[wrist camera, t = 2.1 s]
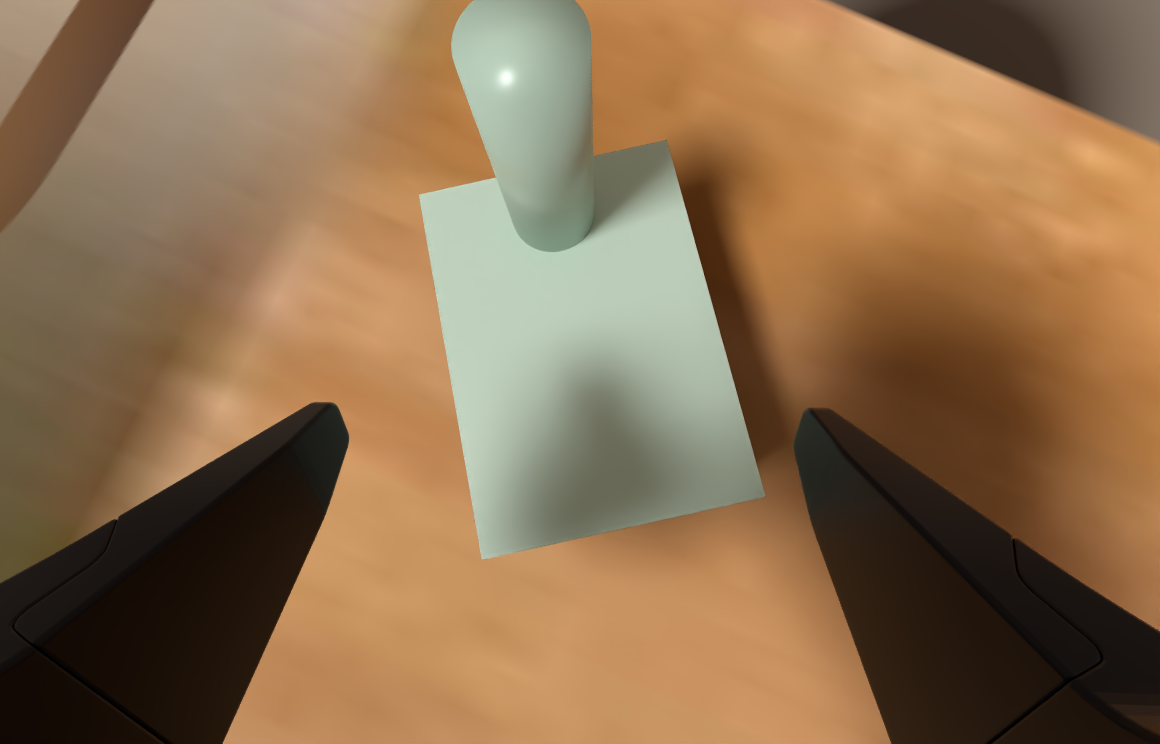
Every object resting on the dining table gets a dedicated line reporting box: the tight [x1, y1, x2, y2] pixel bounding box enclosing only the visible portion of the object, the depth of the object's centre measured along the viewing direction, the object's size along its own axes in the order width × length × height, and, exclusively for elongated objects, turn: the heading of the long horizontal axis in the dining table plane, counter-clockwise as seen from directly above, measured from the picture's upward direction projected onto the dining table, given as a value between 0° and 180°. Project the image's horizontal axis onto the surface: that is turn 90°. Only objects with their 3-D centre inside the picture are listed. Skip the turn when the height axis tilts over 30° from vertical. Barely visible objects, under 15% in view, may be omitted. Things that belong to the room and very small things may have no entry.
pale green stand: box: [419, 0, 766, 560], centre depth 15 cm, size 10×14×9 cm
